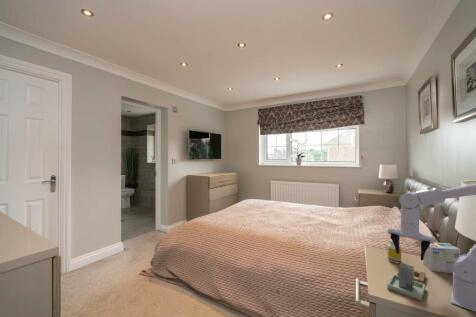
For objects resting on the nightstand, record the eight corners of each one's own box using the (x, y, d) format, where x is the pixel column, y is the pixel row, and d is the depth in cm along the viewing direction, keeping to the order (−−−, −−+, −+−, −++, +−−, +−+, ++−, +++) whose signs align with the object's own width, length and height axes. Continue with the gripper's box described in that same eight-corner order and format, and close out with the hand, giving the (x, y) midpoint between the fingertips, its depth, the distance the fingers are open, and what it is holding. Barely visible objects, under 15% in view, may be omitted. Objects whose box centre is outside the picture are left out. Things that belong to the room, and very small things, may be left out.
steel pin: (413, 287, 82) (414, 266, 82) (412, 291, 79) (412, 270, 79) (400, 282, 85) (401, 262, 85) (398, 287, 82) (399, 266, 82)
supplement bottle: (403, 264, 100) (403, 243, 100) (390, 263, 101) (390, 242, 101) (397, 258, 105) (397, 238, 105) (385, 257, 106) (385, 238, 106)
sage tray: (425, 289, 81) (425, 284, 81) (421, 301, 75) (421, 296, 75) (393, 278, 89) (393, 274, 89) (387, 288, 82) (387, 284, 82)
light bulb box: (449, 266, 98) (449, 242, 98) (461, 274, 91) (461, 249, 91) (422, 263, 100) (422, 241, 100) (431, 271, 94) (431, 247, 94)
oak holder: (425, 276, 90) (425, 273, 90) (422, 284, 84) (422, 280, 84) (401, 269, 96) (401, 265, 96) (397, 276, 90) (397, 272, 90)
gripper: (435, 224, 83) (434, 258, 84) (390, 216, 94) (390, 247, 94) (433, 228, 79) (433, 265, 79) (386, 220, 89) (386, 252, 89)
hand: (409, 255), depth 86 cm, fingers open, 7 cm apart
